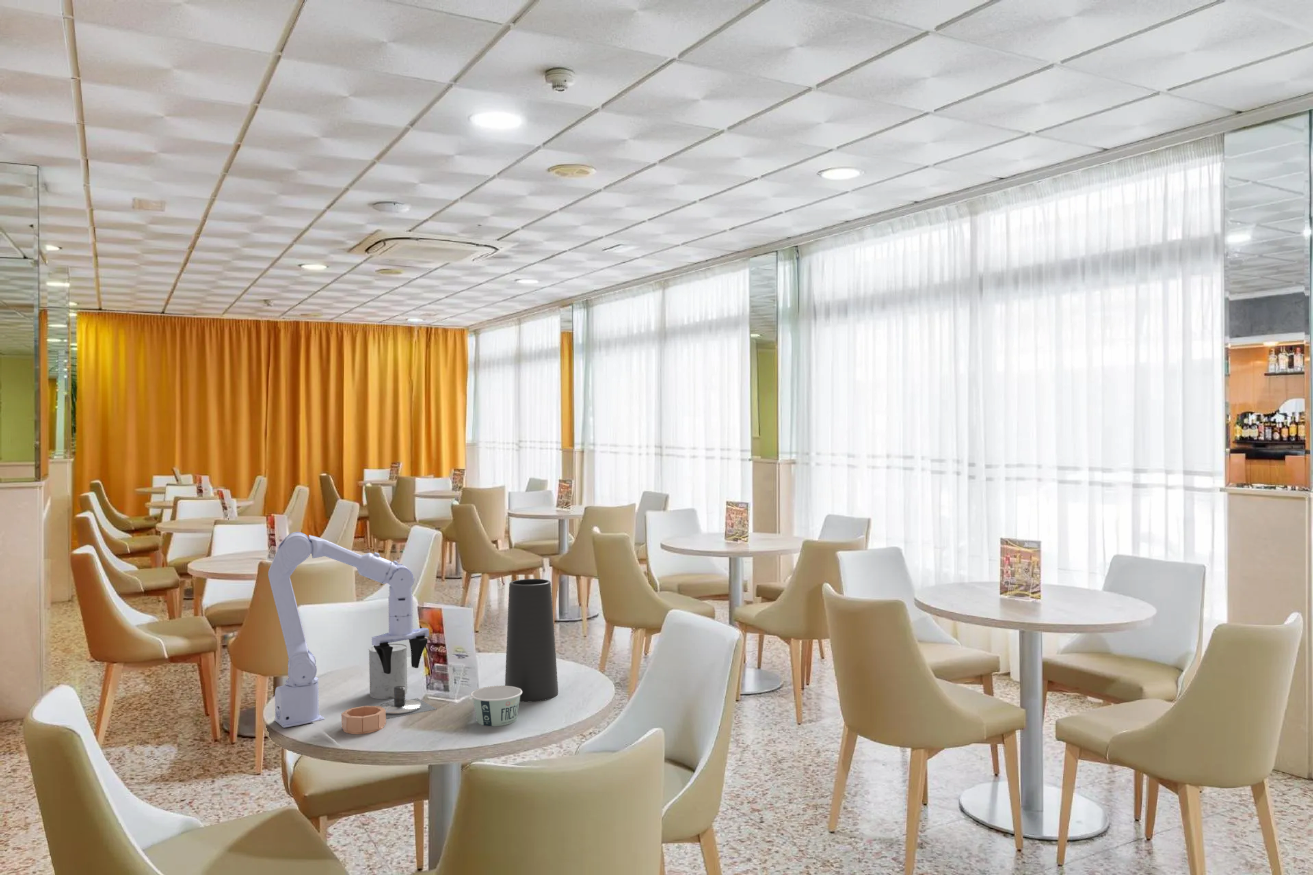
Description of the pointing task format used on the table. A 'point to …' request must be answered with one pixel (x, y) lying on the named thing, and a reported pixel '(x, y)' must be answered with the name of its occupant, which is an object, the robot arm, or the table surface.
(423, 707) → the mat
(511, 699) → the food container
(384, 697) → the grey concrete cylinder
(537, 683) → the vase
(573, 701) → the table surface
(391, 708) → the lid
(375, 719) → the bowl
